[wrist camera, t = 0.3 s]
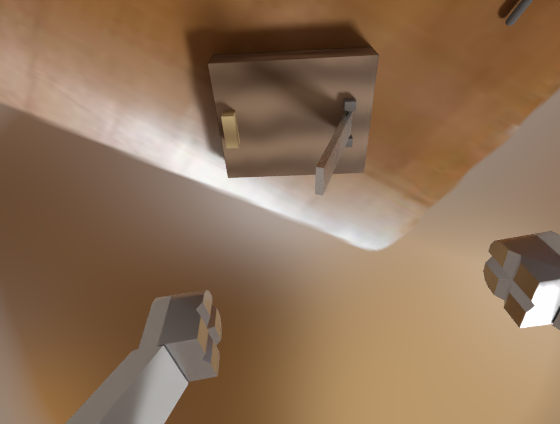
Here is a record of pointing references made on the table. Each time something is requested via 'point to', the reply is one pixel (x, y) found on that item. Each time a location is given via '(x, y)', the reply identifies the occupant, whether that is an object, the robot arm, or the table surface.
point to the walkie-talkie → (518, 11)
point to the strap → (333, 153)
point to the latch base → (292, 108)
